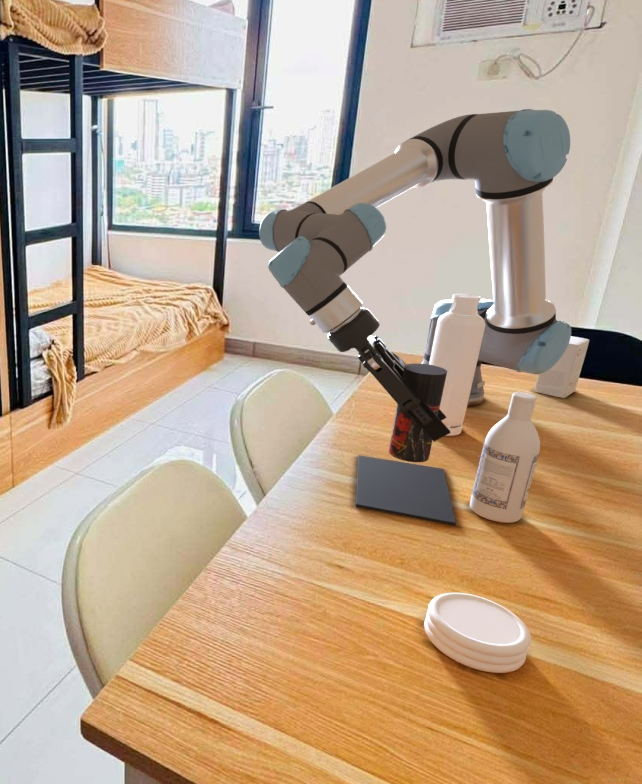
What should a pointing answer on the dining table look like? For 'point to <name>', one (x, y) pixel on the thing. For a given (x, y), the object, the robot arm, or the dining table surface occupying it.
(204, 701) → the dining table surface
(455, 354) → the bottle
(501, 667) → the coaster
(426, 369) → the deodorant
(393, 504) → the mat
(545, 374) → the small box
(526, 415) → the bath foam
